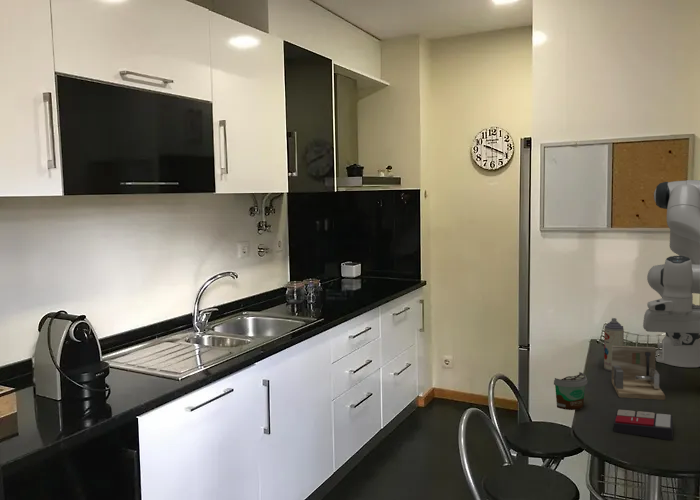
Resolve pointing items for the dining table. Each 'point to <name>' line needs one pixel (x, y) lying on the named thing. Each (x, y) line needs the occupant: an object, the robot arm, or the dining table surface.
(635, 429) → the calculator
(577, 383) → the food container
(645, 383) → the gauge frame
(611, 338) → the aerosol can
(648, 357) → the dark bent bar
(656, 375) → the slab with metal rod
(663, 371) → the dining table surface
